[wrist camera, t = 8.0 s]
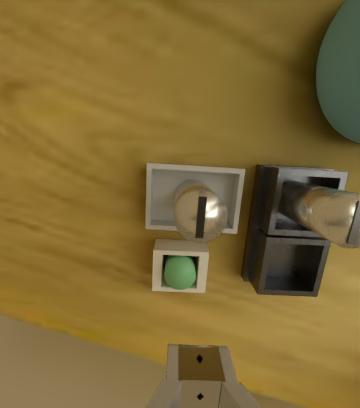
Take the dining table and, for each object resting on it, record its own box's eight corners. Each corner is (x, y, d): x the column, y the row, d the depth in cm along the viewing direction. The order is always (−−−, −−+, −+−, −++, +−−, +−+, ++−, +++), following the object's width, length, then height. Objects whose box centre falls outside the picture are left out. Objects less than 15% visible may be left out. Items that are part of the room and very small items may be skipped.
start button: (166, 249, 23) (164, 260, 21) (194, 250, 23) (197, 262, 21) (164, 275, 24) (163, 289, 21) (192, 276, 24) (194, 290, 21)
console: (156, 238, 24) (153, 249, 21) (205, 241, 24) (209, 252, 21) (154, 275, 25) (152, 290, 22) (201, 277, 25) (205, 293, 22)
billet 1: (175, 178, 22) (175, 189, 14) (211, 180, 22) (231, 192, 14) (174, 212, 23) (172, 241, 15) (208, 214, 23) (224, 244, 15)
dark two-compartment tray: (257, 164, 22) (272, 165, 18) (326, 168, 22) (355, 171, 19) (240, 275, 25) (251, 295, 22) (301, 278, 26) (322, 298, 22)
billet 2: (277, 180, 21) (336, 193, 13) (313, 182, 21) (393, 196, 14) (271, 215, 22) (323, 247, 14) (306, 217, 22) (376, 250, 14)
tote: (149, 162, 22) (146, 163, 20) (238, 167, 22) (245, 169, 20) (148, 222, 23) (145, 229, 21) (231, 226, 24) (236, 233, 22)
